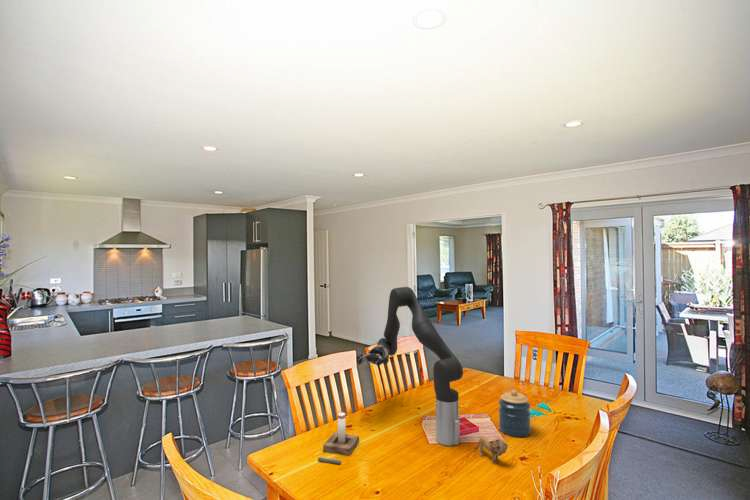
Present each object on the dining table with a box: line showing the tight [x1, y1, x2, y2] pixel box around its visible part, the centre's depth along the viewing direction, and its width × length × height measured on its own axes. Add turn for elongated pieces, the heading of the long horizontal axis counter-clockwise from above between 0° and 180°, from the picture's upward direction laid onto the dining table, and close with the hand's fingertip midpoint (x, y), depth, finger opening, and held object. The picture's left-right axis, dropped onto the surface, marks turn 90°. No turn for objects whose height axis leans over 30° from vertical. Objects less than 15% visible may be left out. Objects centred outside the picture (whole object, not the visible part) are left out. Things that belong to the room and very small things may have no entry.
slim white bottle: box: [337, 411, 346, 445], centre depth 153 cm, size 3×3×13 cm
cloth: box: [529, 401, 552, 418], centre depth 187 cm, size 26×14×2 cm, turn 122°
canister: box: [498, 389, 532, 438], centre depth 166 cm, size 13×13×18 cm
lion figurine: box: [473, 435, 509, 465], centre depth 144 cm, size 15×5×9 cm, turn 37°
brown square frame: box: [322, 432, 360, 456], centre depth 153 cm, size 11×11×2 cm
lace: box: [317, 456, 342, 465], centre depth 141 cm, size 9×1×1 cm, turn 73°
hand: (368, 362), depth 168 cm, fingers open, 8 cm apart
